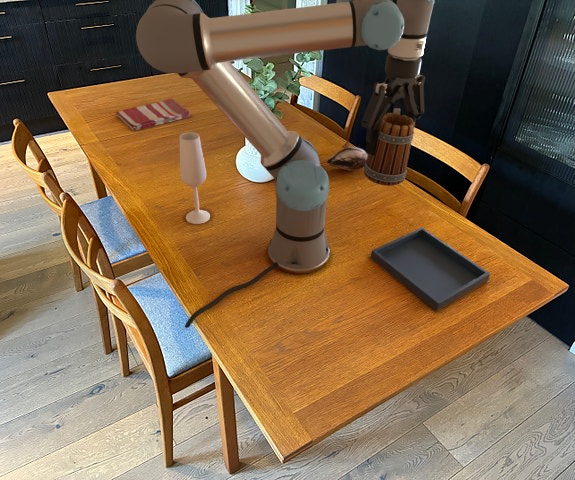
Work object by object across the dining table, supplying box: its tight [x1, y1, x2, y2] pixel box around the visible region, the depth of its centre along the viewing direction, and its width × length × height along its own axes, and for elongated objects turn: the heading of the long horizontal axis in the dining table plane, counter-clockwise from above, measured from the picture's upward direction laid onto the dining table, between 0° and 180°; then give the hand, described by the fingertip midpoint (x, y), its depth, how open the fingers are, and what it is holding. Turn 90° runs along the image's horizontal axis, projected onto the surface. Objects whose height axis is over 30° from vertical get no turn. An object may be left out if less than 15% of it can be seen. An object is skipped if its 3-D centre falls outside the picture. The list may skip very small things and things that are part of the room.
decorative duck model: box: [326, 140, 369, 172], centre depth 147 cm, size 15×8×15 cm
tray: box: [370, 227, 491, 312], centre depth 113 cm, size 18×22×2 cm
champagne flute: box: [179, 131, 211, 225], centre depth 121 cm, size 7×7×24 cm
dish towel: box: [115, 98, 191, 131], centre depth 178 cm, size 17×23×3 cm
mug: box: [363, 107, 416, 187], centre depth 115 cm, size 16×11×15 cm
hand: (388, 147), depth 115 cm, fingers closed on mug, 11 cm apart
